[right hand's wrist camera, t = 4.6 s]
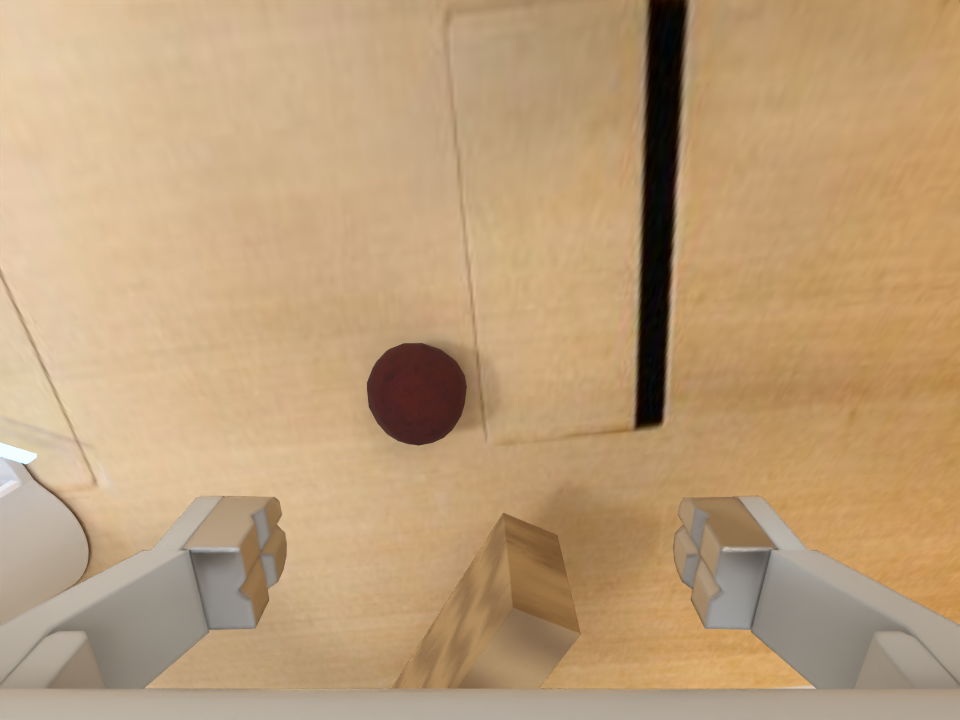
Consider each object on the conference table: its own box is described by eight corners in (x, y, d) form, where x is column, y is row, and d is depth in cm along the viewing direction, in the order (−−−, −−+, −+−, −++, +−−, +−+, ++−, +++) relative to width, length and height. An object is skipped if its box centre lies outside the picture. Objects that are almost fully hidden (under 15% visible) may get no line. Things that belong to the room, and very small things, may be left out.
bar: (503, 512, 38) (513, 607, 30) (557, 535, 39) (581, 633, 30) (368, 724, 45) (346, 846, 37) (415, 740, 46) (404, 862, 38)
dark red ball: (414, 431, 44) (403, 478, 38) (357, 361, 42) (335, 398, 36) (486, 387, 43) (487, 428, 36) (431, 312, 41) (421, 341, 34)
